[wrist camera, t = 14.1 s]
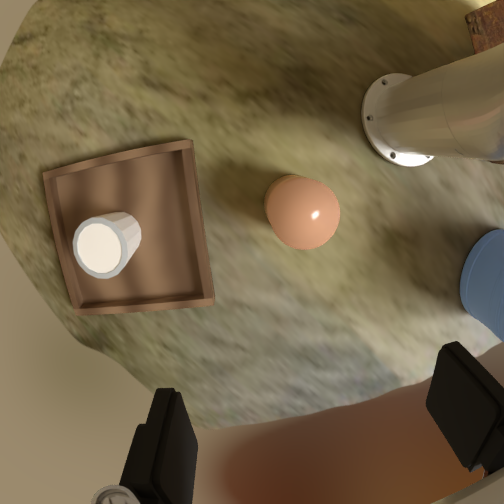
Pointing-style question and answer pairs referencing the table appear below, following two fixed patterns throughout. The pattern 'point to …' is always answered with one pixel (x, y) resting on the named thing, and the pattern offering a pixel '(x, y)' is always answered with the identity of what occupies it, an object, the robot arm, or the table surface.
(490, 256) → the water jug
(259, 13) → the table surface
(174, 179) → the walnut tray
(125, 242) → the white tapered cup
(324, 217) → the peach rounded capsule
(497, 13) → the book
